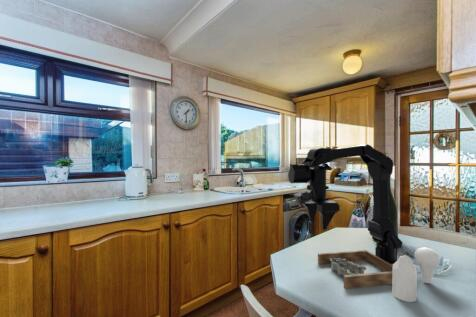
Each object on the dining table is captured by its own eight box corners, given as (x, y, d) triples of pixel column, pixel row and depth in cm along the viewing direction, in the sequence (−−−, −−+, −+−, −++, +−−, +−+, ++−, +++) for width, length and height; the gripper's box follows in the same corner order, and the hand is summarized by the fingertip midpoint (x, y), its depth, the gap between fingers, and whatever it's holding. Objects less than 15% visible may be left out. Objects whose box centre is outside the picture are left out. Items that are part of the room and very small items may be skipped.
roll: (407, 250, 68) (423, 258, 62) (406, 290, 68) (423, 302, 63) (387, 250, 68) (402, 259, 62) (387, 291, 68) (401, 303, 62)
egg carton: (368, 280, 74) (368, 268, 74) (347, 283, 72) (347, 270, 72) (346, 265, 84) (346, 254, 84) (327, 267, 83) (327, 256, 83)
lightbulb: (441, 290, 68) (442, 253, 68) (415, 284, 71) (415, 249, 71) (437, 281, 73) (437, 246, 73) (413, 275, 76) (413, 242, 76)
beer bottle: (403, 245, 103) (404, 171, 102) (380, 245, 103) (380, 171, 102) (388, 236, 113) (389, 169, 113) (367, 236, 113) (367, 170, 113)
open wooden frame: (366, 259, 89) (366, 250, 89) (404, 283, 72) (404, 271, 72) (317, 262, 86) (317, 253, 86) (345, 288, 69) (345, 277, 69)
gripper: (287, 180, 91) (287, 219, 92) (308, 186, 73) (308, 235, 73) (313, 179, 93) (313, 218, 93) (340, 185, 74) (340, 233, 75)
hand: (317, 225), depth 83 cm, fingers open, 9 cm apart
